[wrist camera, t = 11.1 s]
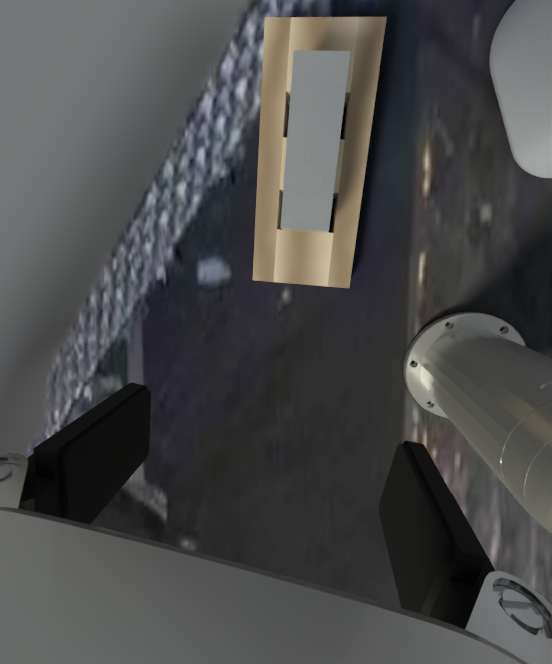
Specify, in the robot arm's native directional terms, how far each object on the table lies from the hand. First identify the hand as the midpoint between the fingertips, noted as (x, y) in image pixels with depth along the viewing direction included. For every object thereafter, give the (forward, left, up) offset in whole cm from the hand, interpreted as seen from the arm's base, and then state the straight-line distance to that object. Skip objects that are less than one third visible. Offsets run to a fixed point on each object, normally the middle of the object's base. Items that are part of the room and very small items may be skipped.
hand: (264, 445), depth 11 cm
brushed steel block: (0, -15, -24) cm, 28 cm away
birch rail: (0, -15, -24) cm, 28 cm away
